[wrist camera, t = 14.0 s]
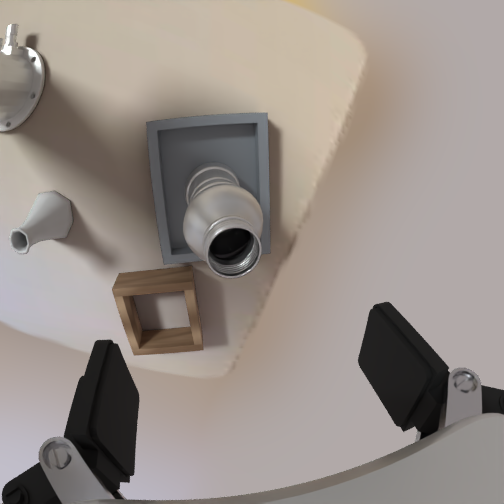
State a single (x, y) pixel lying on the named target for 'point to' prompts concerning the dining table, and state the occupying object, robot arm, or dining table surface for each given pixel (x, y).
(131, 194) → the dining table surface
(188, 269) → the holder
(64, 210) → the flask
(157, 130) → the parts tray
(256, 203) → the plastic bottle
